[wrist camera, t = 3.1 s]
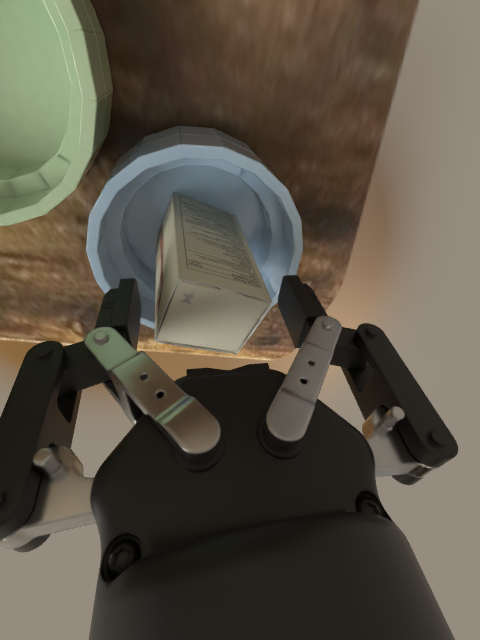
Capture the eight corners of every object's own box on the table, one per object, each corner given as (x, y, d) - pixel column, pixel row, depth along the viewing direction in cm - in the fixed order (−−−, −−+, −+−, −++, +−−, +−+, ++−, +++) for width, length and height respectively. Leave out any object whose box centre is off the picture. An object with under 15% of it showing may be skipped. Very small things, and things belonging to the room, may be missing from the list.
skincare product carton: (154, 244, 21) (147, 342, 14) (172, 189, 19) (173, 273, 12) (217, 264, 24) (238, 358, 16) (240, 217, 21) (276, 302, 14)
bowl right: (121, 299, 25) (113, 341, 21) (77, 116, 16) (50, 134, 12) (266, 294, 27) (281, 331, 24) (298, 133, 18) (329, 154, 15)
